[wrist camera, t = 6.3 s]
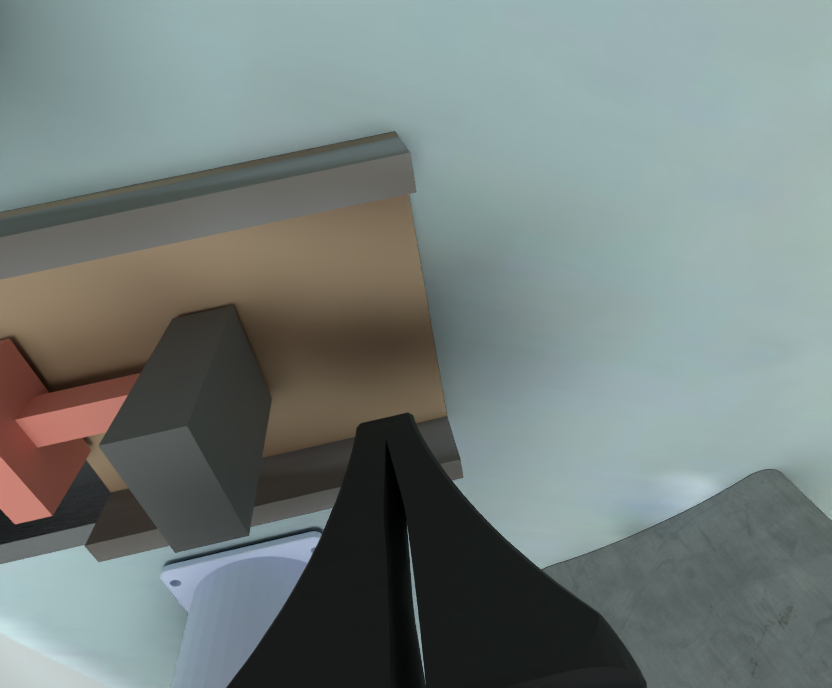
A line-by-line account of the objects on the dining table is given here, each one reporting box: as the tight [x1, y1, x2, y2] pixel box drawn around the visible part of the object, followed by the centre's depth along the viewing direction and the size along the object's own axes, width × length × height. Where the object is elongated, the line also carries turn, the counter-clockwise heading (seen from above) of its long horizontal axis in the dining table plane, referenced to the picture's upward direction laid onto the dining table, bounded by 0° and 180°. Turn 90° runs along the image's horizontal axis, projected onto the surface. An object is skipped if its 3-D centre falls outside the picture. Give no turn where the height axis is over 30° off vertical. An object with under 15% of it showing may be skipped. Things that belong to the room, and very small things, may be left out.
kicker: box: [0, 306, 272, 553], centre depth 14 cm, size 5×8×6 cm, turn 100°
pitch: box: [0, 132, 463, 562], centre depth 17 cm, size 12×14×4 cm
